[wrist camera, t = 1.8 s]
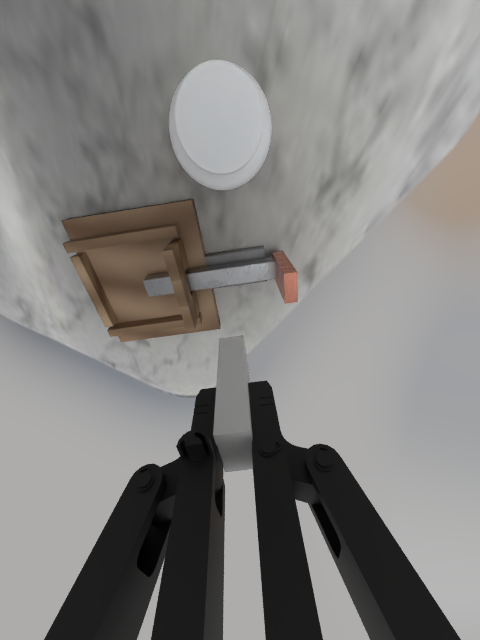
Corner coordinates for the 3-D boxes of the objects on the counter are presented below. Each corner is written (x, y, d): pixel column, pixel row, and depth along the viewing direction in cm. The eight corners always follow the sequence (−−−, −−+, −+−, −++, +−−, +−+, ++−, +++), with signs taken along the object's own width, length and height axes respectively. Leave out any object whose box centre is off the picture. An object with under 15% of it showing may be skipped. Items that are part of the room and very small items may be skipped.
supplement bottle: (220, 200, 26) (214, 219, 15) (174, 141, 23) (124, 111, 12) (271, 152, 24) (306, 133, 13) (227, 81, 21) (224, -21, 10)
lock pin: (146, 270, 28) (123, 297, 22) (282, 250, 27) (297, 271, 21) (154, 294, 30) (135, 324, 24) (283, 275, 29) (297, 301, 23)
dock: (67, 219, 26) (26, 230, 21) (258, 188, 25) (265, 192, 20) (124, 337, 34) (105, 366, 29) (269, 317, 34) (276, 343, 28)
